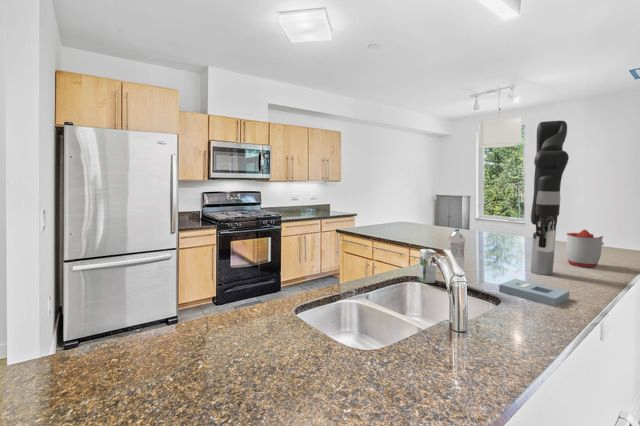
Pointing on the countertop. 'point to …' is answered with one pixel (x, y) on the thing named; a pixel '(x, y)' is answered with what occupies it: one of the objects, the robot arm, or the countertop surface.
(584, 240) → the citrus juicer
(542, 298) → the plate
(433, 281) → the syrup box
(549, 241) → the charger plug
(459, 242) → the water bottle
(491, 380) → the countertop surface
